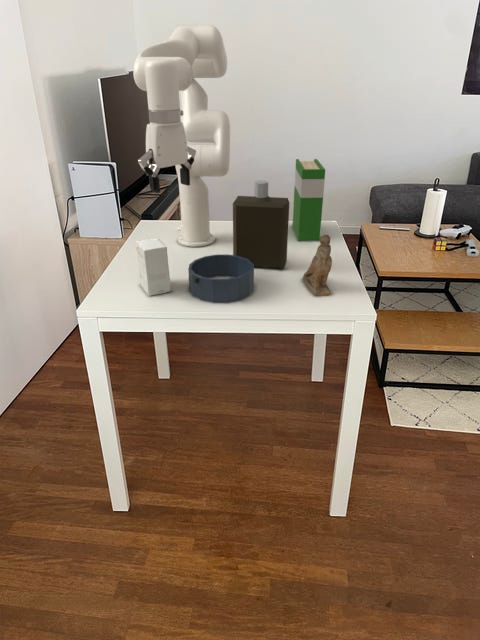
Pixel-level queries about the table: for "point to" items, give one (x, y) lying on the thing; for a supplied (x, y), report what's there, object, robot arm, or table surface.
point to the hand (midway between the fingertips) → (170, 188)
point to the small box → (153, 266)
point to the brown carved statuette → (319, 269)
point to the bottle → (261, 228)
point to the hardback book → (308, 199)
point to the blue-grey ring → (221, 288)
